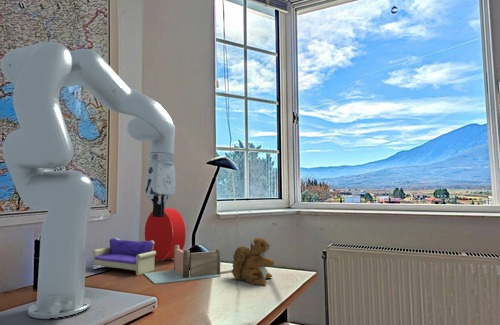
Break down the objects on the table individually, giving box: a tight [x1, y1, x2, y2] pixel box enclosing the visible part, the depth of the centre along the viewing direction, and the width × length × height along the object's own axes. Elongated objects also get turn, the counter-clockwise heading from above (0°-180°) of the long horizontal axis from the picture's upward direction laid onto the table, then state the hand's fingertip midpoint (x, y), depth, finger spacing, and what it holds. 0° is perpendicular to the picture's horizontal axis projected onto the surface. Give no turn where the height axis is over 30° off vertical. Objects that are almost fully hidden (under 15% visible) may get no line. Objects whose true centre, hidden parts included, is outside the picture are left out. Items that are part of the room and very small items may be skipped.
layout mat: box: [143, 269, 221, 285], centre depth 114 cm, size 14×21×1 cm, turn 120°
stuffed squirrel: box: [231, 236, 275, 286], centre depth 110 cm, size 10×14×13 cm
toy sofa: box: [91, 237, 156, 276], centre depth 120 cm, size 21×9×10 cm, turn 66°
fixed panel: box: [183, 248, 222, 278], centre depth 113 cm, size 2×13×8 cm, turn 120°
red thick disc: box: [144, 207, 187, 261], centre depth 140 cm, size 20×6×20 cm, turn 47°
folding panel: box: [173, 245, 183, 276], centre depth 116 cm, size 2×10×8 cm, turn 28°
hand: (158, 216), depth 112 cm, fingers closed
